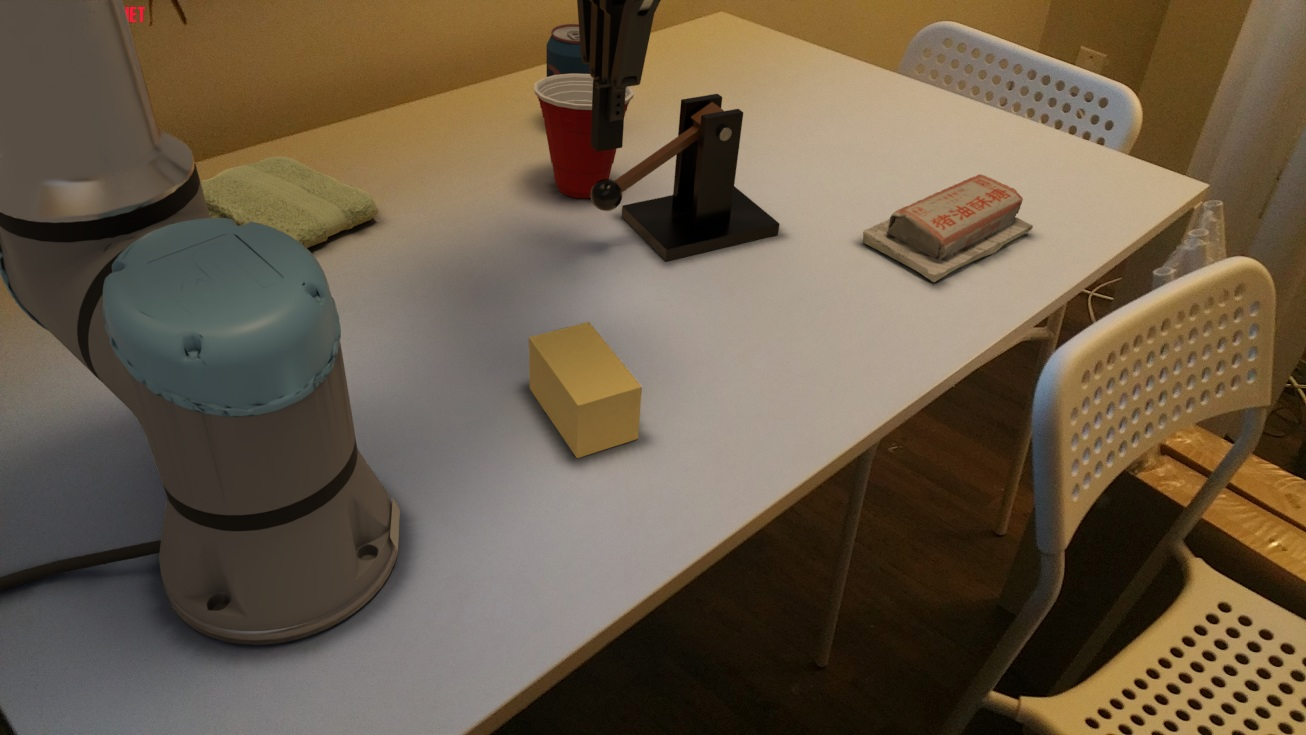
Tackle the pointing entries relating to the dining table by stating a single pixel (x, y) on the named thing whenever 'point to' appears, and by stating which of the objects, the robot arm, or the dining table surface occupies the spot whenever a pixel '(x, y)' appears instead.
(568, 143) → the plastic cup
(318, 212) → the washcloth
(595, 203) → the arm
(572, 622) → the dining table surface
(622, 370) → the butter
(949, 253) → the packaged product
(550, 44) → the soda can
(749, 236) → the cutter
